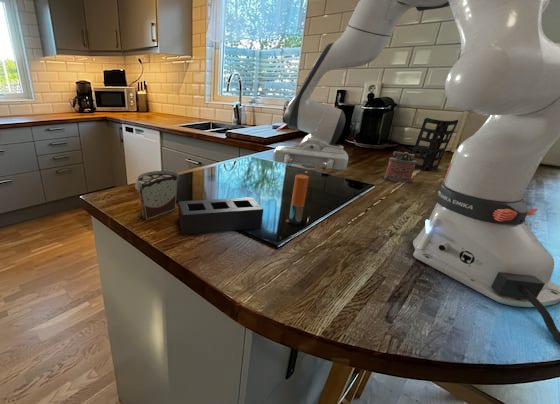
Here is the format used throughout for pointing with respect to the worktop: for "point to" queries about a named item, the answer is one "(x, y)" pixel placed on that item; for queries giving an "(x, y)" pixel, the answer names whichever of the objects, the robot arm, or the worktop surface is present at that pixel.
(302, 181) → the orange cylinder
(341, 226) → the worktop surface
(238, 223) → the pen holder
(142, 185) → the food container
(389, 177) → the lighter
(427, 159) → the holder
